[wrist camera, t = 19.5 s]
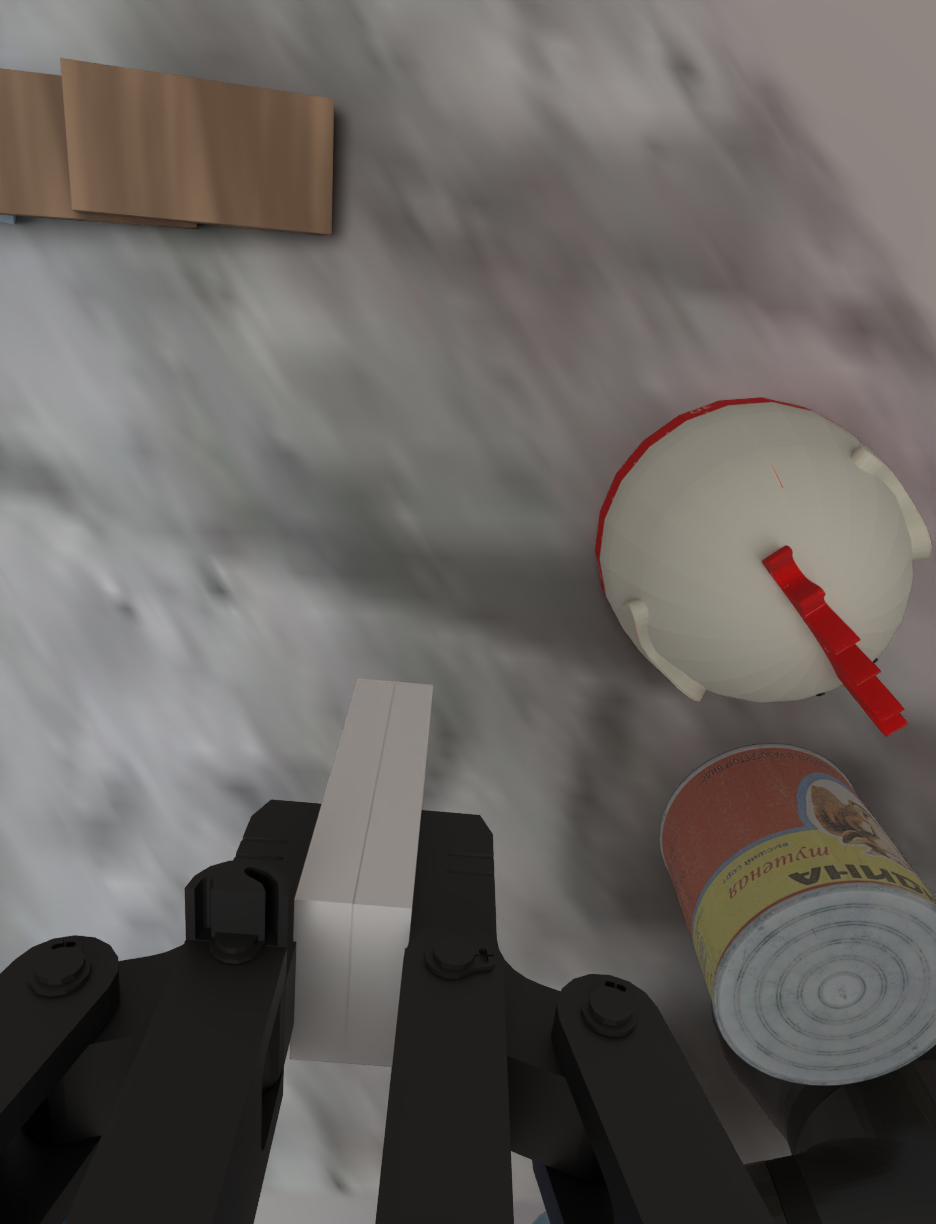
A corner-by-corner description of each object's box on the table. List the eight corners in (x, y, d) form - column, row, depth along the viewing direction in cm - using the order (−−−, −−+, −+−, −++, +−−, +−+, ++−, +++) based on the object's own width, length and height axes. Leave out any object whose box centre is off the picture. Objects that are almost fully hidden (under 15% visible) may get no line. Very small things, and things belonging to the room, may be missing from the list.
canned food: (900, 794, 49) (1028, 949, 37) (783, 937, 52) (868, 1117, 41) (730, 710, 47) (812, 846, 36) (622, 864, 50) (664, 1032, 39)
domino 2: (334, 99, 35) (60, 58, 31) (331, 234, 37) (72, 209, 33) (324, 106, 37) (63, 68, 33) (322, 235, 38) (74, 211, 35)
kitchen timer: (688, 712, 47) (780, 897, 33) (541, 513, 43) (574, 626, 29) (924, 564, 44) (1136, 699, 30) (788, 336, 40) (958, 367, 26)
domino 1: (190, 91, 35) (-98, 56, 32) (196, 227, 37) (-75, 207, 34) (188, 99, 37) (-84, 67, 33) (195, 228, 38) (-63, 209, 35)
